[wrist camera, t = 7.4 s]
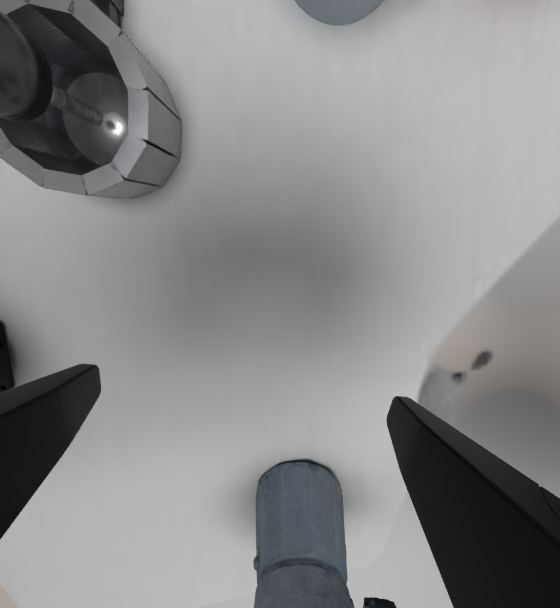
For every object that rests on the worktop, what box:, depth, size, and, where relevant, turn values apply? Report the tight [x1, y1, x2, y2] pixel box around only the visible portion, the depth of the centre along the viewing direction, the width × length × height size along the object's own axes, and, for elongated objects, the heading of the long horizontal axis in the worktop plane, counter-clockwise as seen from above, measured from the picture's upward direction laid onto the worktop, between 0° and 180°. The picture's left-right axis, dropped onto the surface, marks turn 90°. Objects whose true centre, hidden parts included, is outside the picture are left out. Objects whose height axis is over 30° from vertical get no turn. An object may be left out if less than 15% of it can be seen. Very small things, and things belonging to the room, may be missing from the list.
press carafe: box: [0, 0, 182, 198], centre depth 14 cm, size 8×11×5 cm
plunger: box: [0, 11, 129, 166], centre depth 12 cm, size 5×5×8 cm
